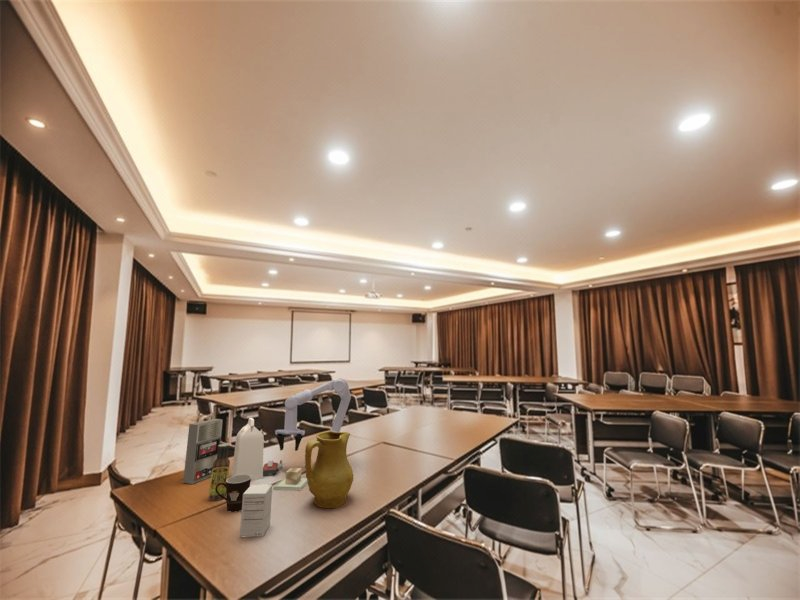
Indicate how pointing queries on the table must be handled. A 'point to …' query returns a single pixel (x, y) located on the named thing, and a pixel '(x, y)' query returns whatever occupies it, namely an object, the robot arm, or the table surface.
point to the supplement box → (256, 510)
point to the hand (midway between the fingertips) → (289, 450)
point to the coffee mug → (235, 491)
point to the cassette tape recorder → (202, 449)
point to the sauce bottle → (219, 473)
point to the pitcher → (329, 469)
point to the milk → (249, 452)
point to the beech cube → (293, 476)
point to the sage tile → (283, 486)
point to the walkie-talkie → (271, 468)
